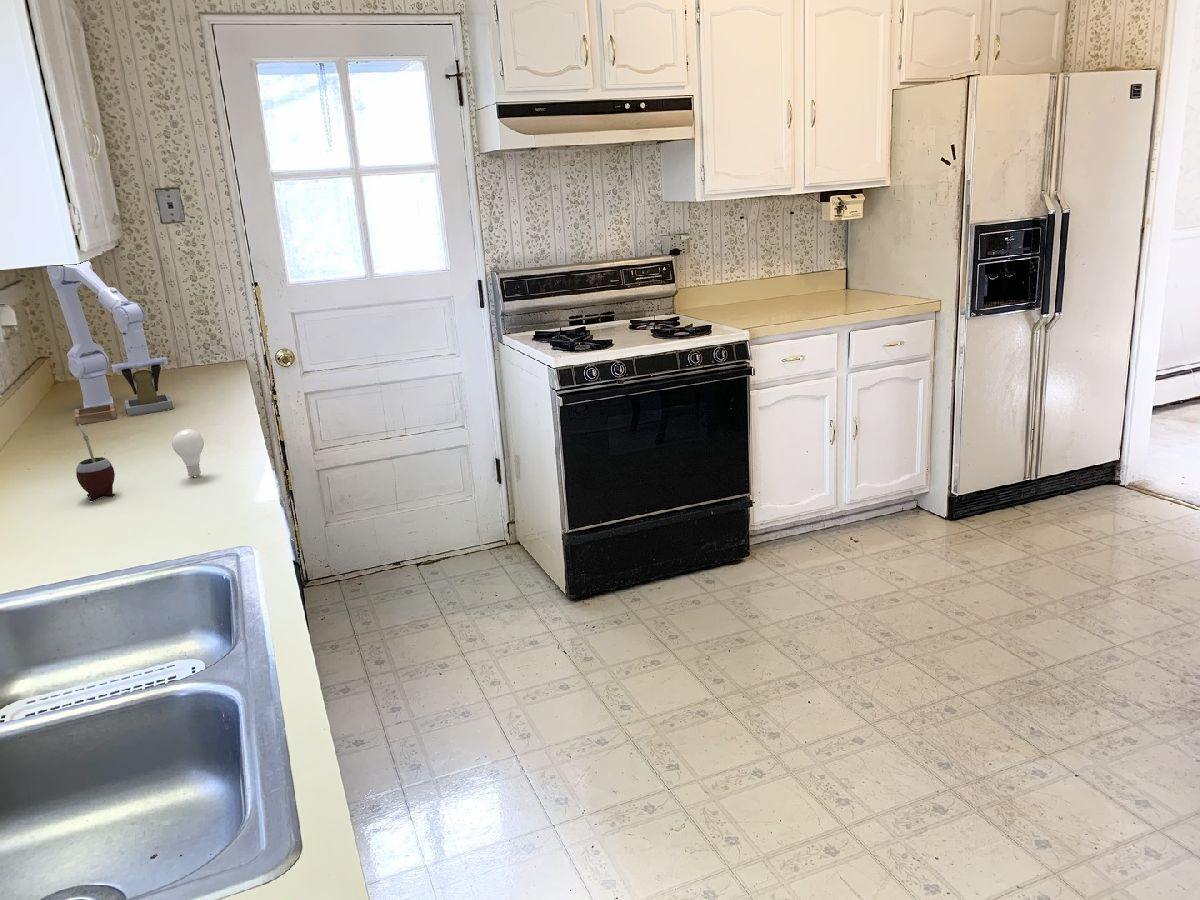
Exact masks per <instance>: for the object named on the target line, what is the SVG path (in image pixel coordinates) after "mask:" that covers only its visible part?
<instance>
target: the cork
mask: <svg viewBox="0 0 1200 900" xmlns="http://www.w3.org/2000/svg"><path fill="white" fill-rule="evenodd" d="M132 376H133V381H134V383H136V384H135V385H136V391H137V394H136V395H137V398H138V406H140V405H146V404H152V403H159V399H158V396H157V395H158V394H157V391H155V387H154V382H153V380H154V379H153V374H152V370H148V369H141V370H140V369H139V370H137V371H135V372H133V373H132Z"/></svg>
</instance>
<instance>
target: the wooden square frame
mask: <svg viewBox="0 0 1200 900" xmlns="http://www.w3.org/2000/svg"><path fill="white" fill-rule="evenodd" d="M116 413H117V412H116V409H115V403H113V404H107V405H101V406H94V407H88V408H84V407H81V408H76V409H74V419H75V423H76V426H78V425H79V424H83V425H86V424H85V423H89V424H93V423H92V422H95V423H101V422H106V420H107V421H111V419H113V420H117V419H116V418H117V414H116ZM100 421H101V422H100Z"/></svg>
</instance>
